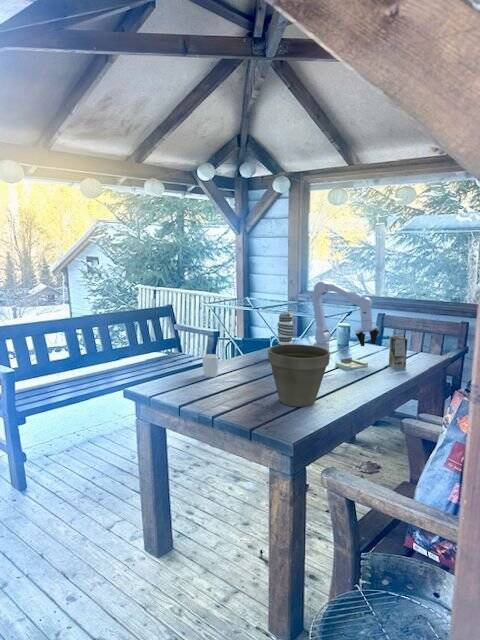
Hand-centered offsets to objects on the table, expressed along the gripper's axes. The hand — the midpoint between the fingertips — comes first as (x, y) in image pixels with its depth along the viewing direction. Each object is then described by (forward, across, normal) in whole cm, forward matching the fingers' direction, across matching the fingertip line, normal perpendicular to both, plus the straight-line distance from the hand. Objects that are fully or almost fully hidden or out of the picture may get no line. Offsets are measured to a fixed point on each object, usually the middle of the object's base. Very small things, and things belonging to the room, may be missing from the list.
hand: (368, 345), depth 246 cm
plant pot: (+10, -68, -32) cm, 76 cm away
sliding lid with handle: (+10, -12, 0) cm, 15 cm away
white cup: (+5, -85, +20) cm, 87 cm away
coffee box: (+12, +9, -11) cm, 19 cm away
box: (+10, -12, 0) cm, 16 cm away
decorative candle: (+6, -29, +39) cm, 49 cm away
